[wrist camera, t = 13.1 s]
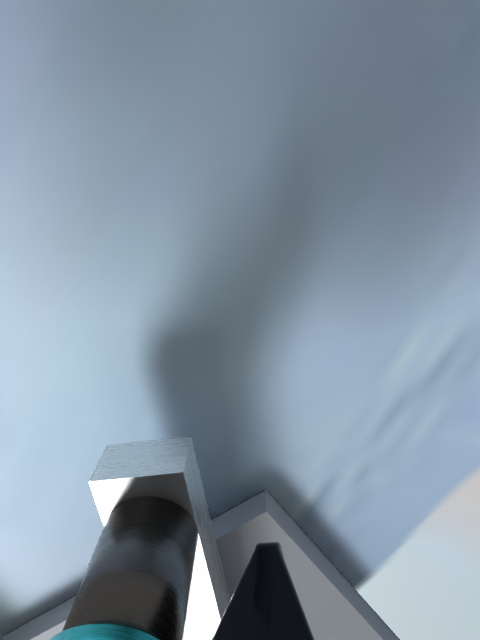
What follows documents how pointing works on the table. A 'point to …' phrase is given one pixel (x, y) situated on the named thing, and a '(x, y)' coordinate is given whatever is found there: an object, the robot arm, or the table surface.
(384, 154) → the table surface
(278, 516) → the crank base
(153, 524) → the crank
